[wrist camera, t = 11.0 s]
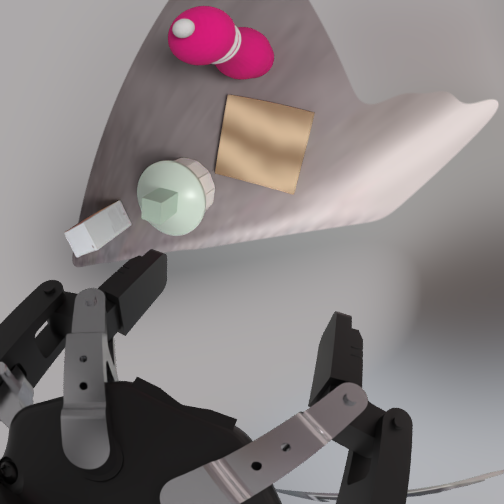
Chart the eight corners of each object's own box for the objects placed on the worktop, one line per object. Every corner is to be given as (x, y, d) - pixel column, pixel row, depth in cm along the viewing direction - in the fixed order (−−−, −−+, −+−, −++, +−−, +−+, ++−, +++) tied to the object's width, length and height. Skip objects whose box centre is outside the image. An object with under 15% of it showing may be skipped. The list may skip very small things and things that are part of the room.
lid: (141, 154, 39) (118, 162, 34) (211, 169, 37) (193, 179, 33) (139, 222, 45) (120, 236, 40) (201, 242, 43) (185, 259, 39)
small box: (121, 199, 50) (83, 221, 41) (133, 224, 52) (98, 250, 43) (97, 210, 53) (62, 232, 45) (109, 234, 55) (76, 258, 47)
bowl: (162, 153, 43) (145, 160, 39) (218, 165, 42) (204, 173, 38) (159, 208, 48) (143, 219, 44) (210, 223, 47) (197, 236, 43)
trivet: (230, 94, 36) (228, 94, 35) (314, 112, 34) (314, 112, 33) (217, 171, 42) (214, 173, 41) (294, 192, 41) (293, 194, 40)
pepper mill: (229, 84, 35) (142, 77, 18) (225, 39, 32) (138, 4, 15) (279, 79, 33) (226, 57, 16) (275, 32, 30) (219, -22, 13)
